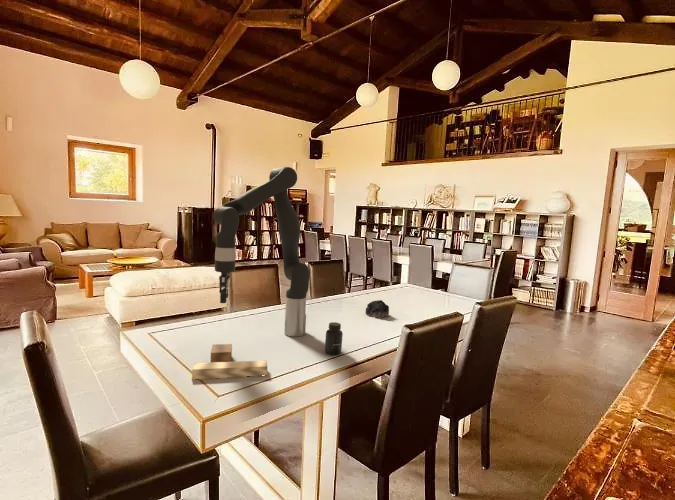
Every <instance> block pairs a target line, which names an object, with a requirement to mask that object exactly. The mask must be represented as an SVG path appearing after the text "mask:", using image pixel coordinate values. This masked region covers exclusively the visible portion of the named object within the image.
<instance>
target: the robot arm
mask: <svg viewBox="0 0 675 500" xmlns="http://www.w3.org/2000/svg"><path fill="white" fill-rule="evenodd" d="M268 179H269V180H268V181H267V182H265V183H263V184H260V185H258V186H256V187H253V188H251V189H249V190H247V191H246V192H244V193H242V194H241V195H239V196H238V197H236V198H235V199H233V200H231V201H228V202H226V203H224V204H221V205H220V206H218V207H217V208H215V210H214V212H213V214H212V215H213V217H212V218H213V220H214V222H215V223H216V224H218V225H221V227H220V228H221V229H220V231H219V232H217V233H216V235H215V252H214V271H215V272H217V273H220V274H219V276H218V281H219V284H218V287H219V297H220V298H219V303H220V304H226V303H227V299H228V298H229V288H230V285H231V275H230V273H233V272H235V271H236V235H237V232H238V227H239V224H240V216H241V215H246V214H248V213H250V212H252V211H253V210H254V209H255V208H257V207H259V206H260V205H262V204H264V203H265V202H266V201H268V200H269V199H271V198H272V197H273V201H274V204H275V205H274V206H275V210H276V211H275V212H276V216H277V217H276V218H277V224H278V231H279V236H280V243H281V249H282V256H283V257H282V258H283V259H282V260H283V273H284V277H286V279H287V280H289V281H290V286H289V288H288V289H287V290H286V292H285V308H284V310H285V311H284V312H285V313H284V335H285V336H288V337H301V336H302V337H303V336H306V330H307V329H306V328H307V327H306V326H307V313H306V309H307V304H306V303H307V294H308V292H309V288H310V276H311V274H310V268H309V266H308V264H306V263H305V262H304V263H303V262H300V257H299V251H298V248H299V242H300V240H301V239H300V238H301V226H300V219H299V216H298V214H297V212H296V210H295V208H294V206H293V205H292V203H291V201H290V198H289V194H288V190H289V189H291V188H293V187H294V186H295V185H296V183H297V182H298V173H297V172H296V170H295V169H294V168H293V167H290V166H281V167H275V168H273V169H271V171H270V172H269V176H268Z"/></svg>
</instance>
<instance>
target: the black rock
mask: <svg viewBox="0 0 675 500" xmlns="http://www.w3.org/2000/svg"><path fill="white" fill-rule="evenodd" d="M366 306H367V307H366V308H365V314H366V315H367V316H368V315H369V316H368V317H371V316H372V317H371V318H374V317H383V318H386V316H387V317H389V315H390V306H389V305H387V304H386V303H385V302H384V301H383V300H382V299H379V300H378V299H377V300H373V301H369V303H367V304H366Z"/></svg>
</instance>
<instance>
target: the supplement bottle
mask: <svg viewBox="0 0 675 500" xmlns="http://www.w3.org/2000/svg"><path fill="white" fill-rule="evenodd" d="M341 327H342V324H341V323H340V322H333V321H332V322H329V323H328V329H327V330H326V331H325V338H324V339H325V341H324V353H325V354H327V355H328V354H329V356H339V355H340V354H342V348H343V331H342V330H341V329H342V328H341Z"/></svg>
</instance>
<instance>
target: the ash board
mask: <svg viewBox="0 0 675 500" xmlns="http://www.w3.org/2000/svg"><path fill="white" fill-rule="evenodd" d="M262 375H267V376H268V360H267V359H266V360H241V361H240V360H239V361H231V362H211V361H210V362H195V363H194V364H193V366H192V369H191V380H192V381H196V380H195V379H199V380H214V379H215V378H220V379H228V378H227V377H241V378H247V377H246V376H262ZM262 377H263V376H262ZM215 380H216V379H215Z"/></svg>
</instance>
